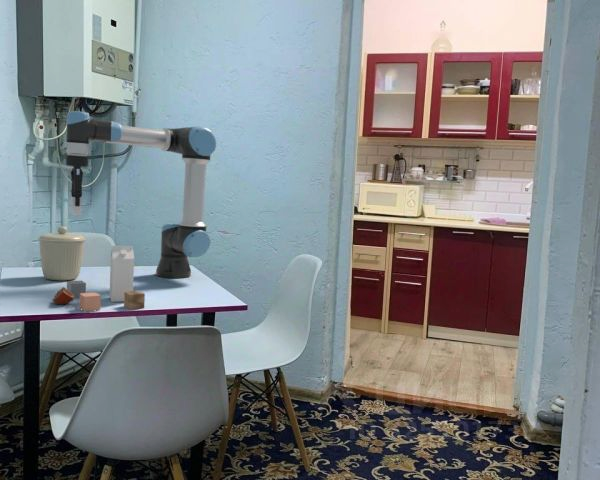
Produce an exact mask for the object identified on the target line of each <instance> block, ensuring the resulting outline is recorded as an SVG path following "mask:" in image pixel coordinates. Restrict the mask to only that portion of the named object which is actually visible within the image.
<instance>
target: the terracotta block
mask: <svg viewBox="0 0 600 480" xmlns="http://www.w3.org/2000/svg"><path fill="white" fill-rule="evenodd" d="M78 301H79V303H78V304H79V305H78V307H79V308H80V309H79V310H81V309H82V310H83V311H82V310H81V311H82V312H84V311H89V312H95V311H94V310H100V311H101V295H100V294H99V293H97V292H86V293H80V297H79V300H78Z"/></svg>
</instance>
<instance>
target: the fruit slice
mask: <svg viewBox="0 0 600 480" xmlns="http://www.w3.org/2000/svg"><path fill="white" fill-rule="evenodd" d="M74 299H76V298H75V297H74V295H73V294H72V293H71V292H69V291H68V290H67V288H66V287H64V286H63V287H61V288H60V289H59V290H58V291H57V292H56V294H55V295H54V297H53V298H52V301H53V303H55V304H58V305H64V304H65V305H66V304H68V303H70V302H72V301H73V300H74Z"/></svg>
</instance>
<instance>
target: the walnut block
mask: <svg viewBox="0 0 600 480" xmlns="http://www.w3.org/2000/svg"><path fill="white" fill-rule="evenodd" d="M145 297H146V293H144V292H142V291H140V290H133V291H128V292H125V293H124V301H123V307H125V308H127V309H128V310H137V309H138V310H139V309H140V310H141V309H145V301H146V300H145Z"/></svg>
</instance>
